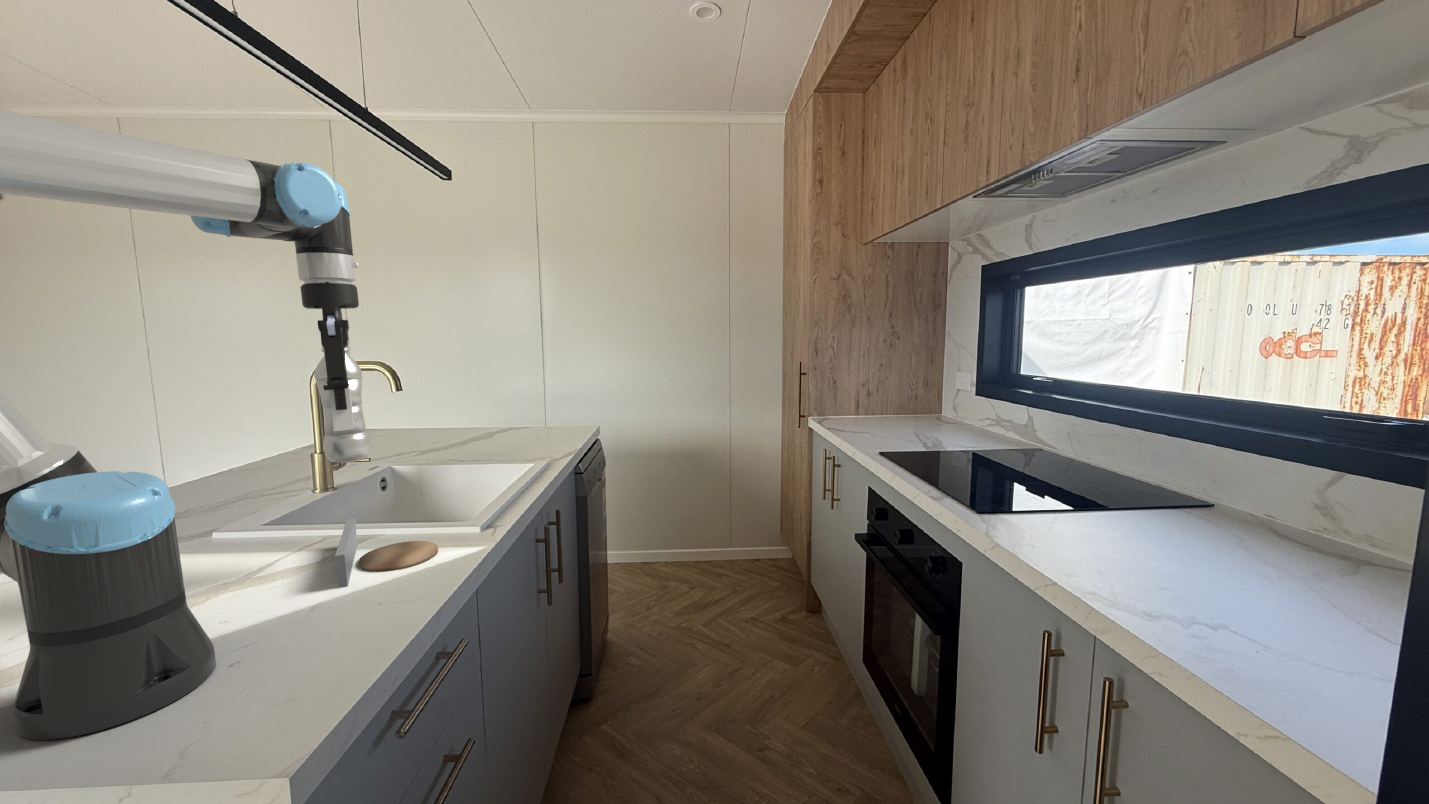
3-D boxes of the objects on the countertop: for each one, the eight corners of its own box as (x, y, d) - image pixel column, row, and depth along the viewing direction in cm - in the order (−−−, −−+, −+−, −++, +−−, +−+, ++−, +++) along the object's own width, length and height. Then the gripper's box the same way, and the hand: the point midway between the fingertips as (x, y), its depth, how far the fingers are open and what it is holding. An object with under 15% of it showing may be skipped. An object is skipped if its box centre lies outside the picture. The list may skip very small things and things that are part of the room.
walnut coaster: (356, 577, 91) (355, 573, 91) (361, 552, 102) (361, 549, 102) (439, 561, 97) (439, 558, 97) (436, 539, 107) (436, 536, 107)
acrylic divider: (338, 587, 88) (334, 556, 87) (349, 545, 105) (347, 519, 104) (347, 585, 88) (344, 554, 87) (357, 544, 106) (354, 518, 105)
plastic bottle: (358, 466, 92) (343, 340, 89) (315, 467, 92) (299, 341, 89) (380, 456, 98) (368, 339, 96) (341, 457, 98) (327, 340, 96)
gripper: (354, 278, 85) (370, 432, 88) (358, 287, 101) (372, 417, 105) (291, 277, 81) (311, 438, 84) (306, 287, 98) (323, 421, 101)
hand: (345, 426), depth 95 cm, fingers closed on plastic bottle, 6 cm apart
